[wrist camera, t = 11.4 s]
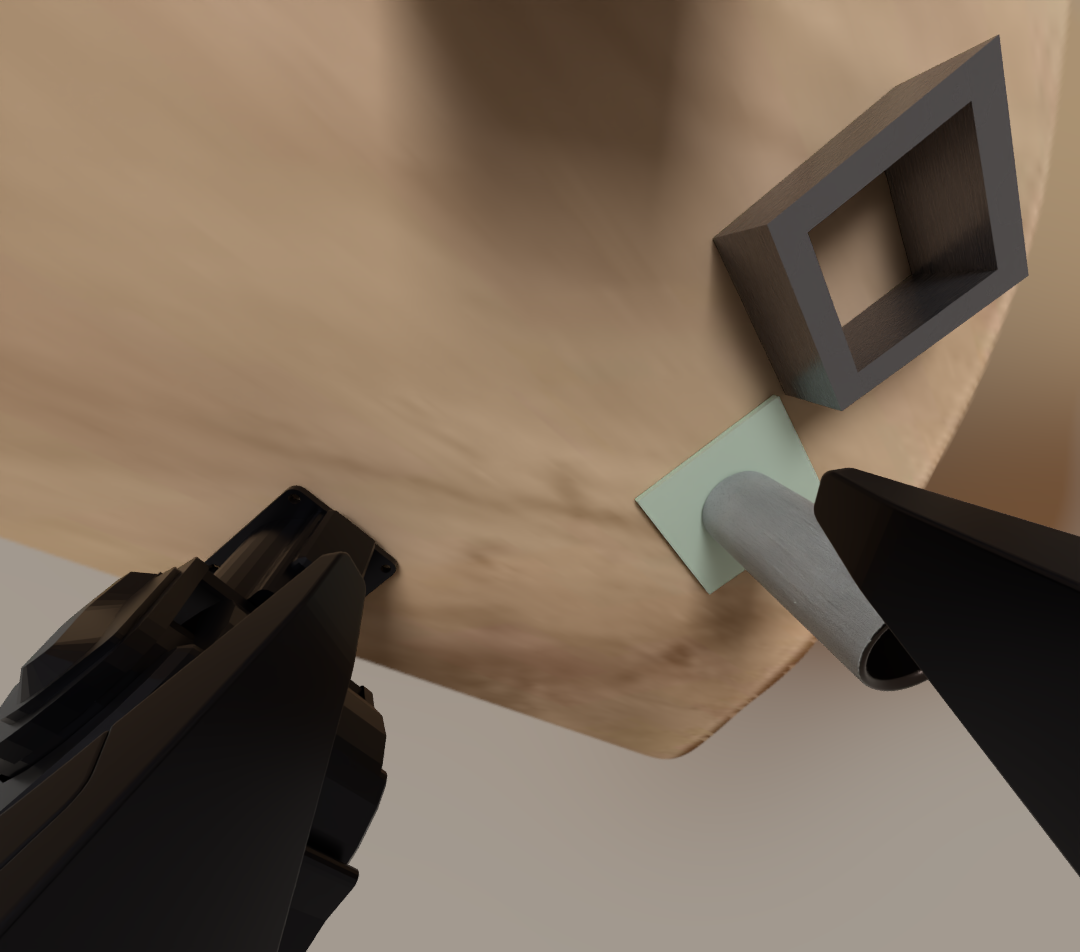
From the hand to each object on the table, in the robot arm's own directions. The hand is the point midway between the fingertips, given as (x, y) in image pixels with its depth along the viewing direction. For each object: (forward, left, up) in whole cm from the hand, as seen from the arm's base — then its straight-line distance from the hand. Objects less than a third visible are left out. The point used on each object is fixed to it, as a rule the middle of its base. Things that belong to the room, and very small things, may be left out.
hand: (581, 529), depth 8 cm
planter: (+6, -13, -12) cm, 19 cm away
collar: (+15, -5, -12) cm, 20 cm away
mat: (+6, -13, -12) cm, 19 cm away
